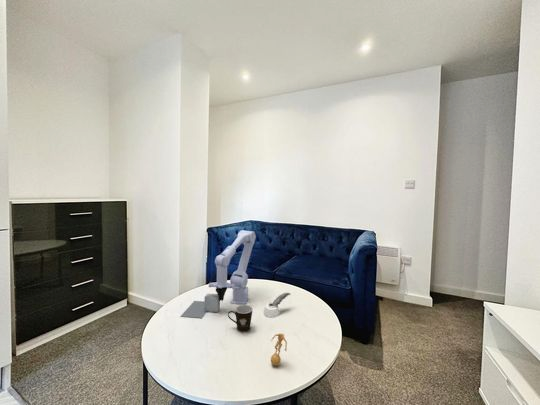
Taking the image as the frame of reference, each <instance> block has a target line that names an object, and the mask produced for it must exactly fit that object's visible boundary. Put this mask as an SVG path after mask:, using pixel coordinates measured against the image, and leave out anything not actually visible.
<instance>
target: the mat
mask: <svg viewBox="0 0 540 405" xmlns="http://www.w3.org/2000/svg"><path fill="white" fill-rule="evenodd" d="M207 312H208V311H204V300H203V301H201V300H193V302H192V303H190V305H189V306H188V307H187V308H186V309H185V310H184V311H183V312H182V314H181V315H180V317H181V318H191V319H203V318H204V316H205V315H206V314H207Z"/></svg>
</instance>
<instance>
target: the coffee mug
mask: <svg viewBox="0 0 540 405" xmlns="http://www.w3.org/2000/svg"><path fill="white" fill-rule="evenodd" d="M234 309H235V310H230V311H228V313H227V317H228V319H229V320H230V321H232V322H234V323H235V325H236V330H237V331H238V332H240V333H246V332H248V331H250V330H251V324H252V316H253V307H252V306H251V305H248V304H241V305H240V304H239V305H237V306H236V307H235V308H234ZM230 313H233V314H234V316H235V320H234V318H232V317H231V316H230Z"/></svg>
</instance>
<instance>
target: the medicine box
mask: <svg viewBox="0 0 540 405" xmlns="http://www.w3.org/2000/svg"><path fill="white" fill-rule="evenodd" d="M203 301H204V311H207V312H211V313H213V312H214V313H219V310H221V301H219V297H218V294H217V293H209V292H207V293H206V294H205V296H204V299H203Z"/></svg>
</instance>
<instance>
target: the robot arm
mask: <svg viewBox="0 0 540 405" xmlns="http://www.w3.org/2000/svg"><path fill="white" fill-rule="evenodd" d="M256 238H257V236H256V233H255V231H253V230H252V231H251V230H243V229H241V230H240V231H239V232H238V233H237V237H236V238H235V240H234V241H233V243H232V244H231V245H228V246H227V247H226V248H225V249H224V250H223V251H222V253H221V254H219V255H217V256H216V257H215V259H214V264H215V267H216V282H209V283H208V288H215V292H216V294H218V297H219V301H220V302H223V301H224V298H225V294H226V291H227V289H232V299H231V301H230V303H231V304H239V305H240V304H241V305H247V302H248V300H249V287H247V285H248V283H249V282H248V281H249V280H248V279H249V275H248V274H247V268H248V263H249V260H250V258H251V254H252V250H253V246H254V244H255V241H256ZM242 244H243V250H242V252H241V256H240V258H239V259H240V260H239V264H238V267H237V269H236V270H235V271H234V272H233V273H232V275H231V277H230V279H229V280H230V281H229V282H228V266H229V265H230V262H231V259H232V257H233V256H234V255H235V254H236V249H237V248H239V247H240V246H241V245H242Z"/></svg>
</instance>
